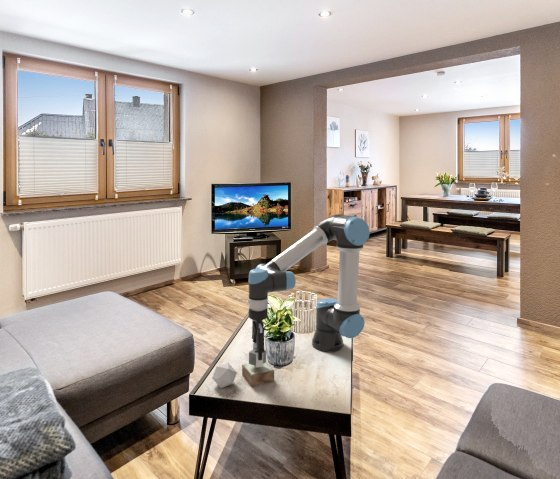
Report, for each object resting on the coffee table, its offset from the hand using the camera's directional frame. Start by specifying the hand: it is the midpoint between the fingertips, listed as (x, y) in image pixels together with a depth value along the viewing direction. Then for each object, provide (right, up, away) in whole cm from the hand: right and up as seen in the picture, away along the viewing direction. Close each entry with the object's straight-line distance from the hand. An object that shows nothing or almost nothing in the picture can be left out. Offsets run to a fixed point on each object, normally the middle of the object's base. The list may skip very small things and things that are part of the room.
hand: (257, 362), depth 162 cm
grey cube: (0, -1, 0) cm, 1 cm away
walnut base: (0, -7, +1) cm, 7 cm away
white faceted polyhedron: (-13, -8, -4) cm, 16 cm away
